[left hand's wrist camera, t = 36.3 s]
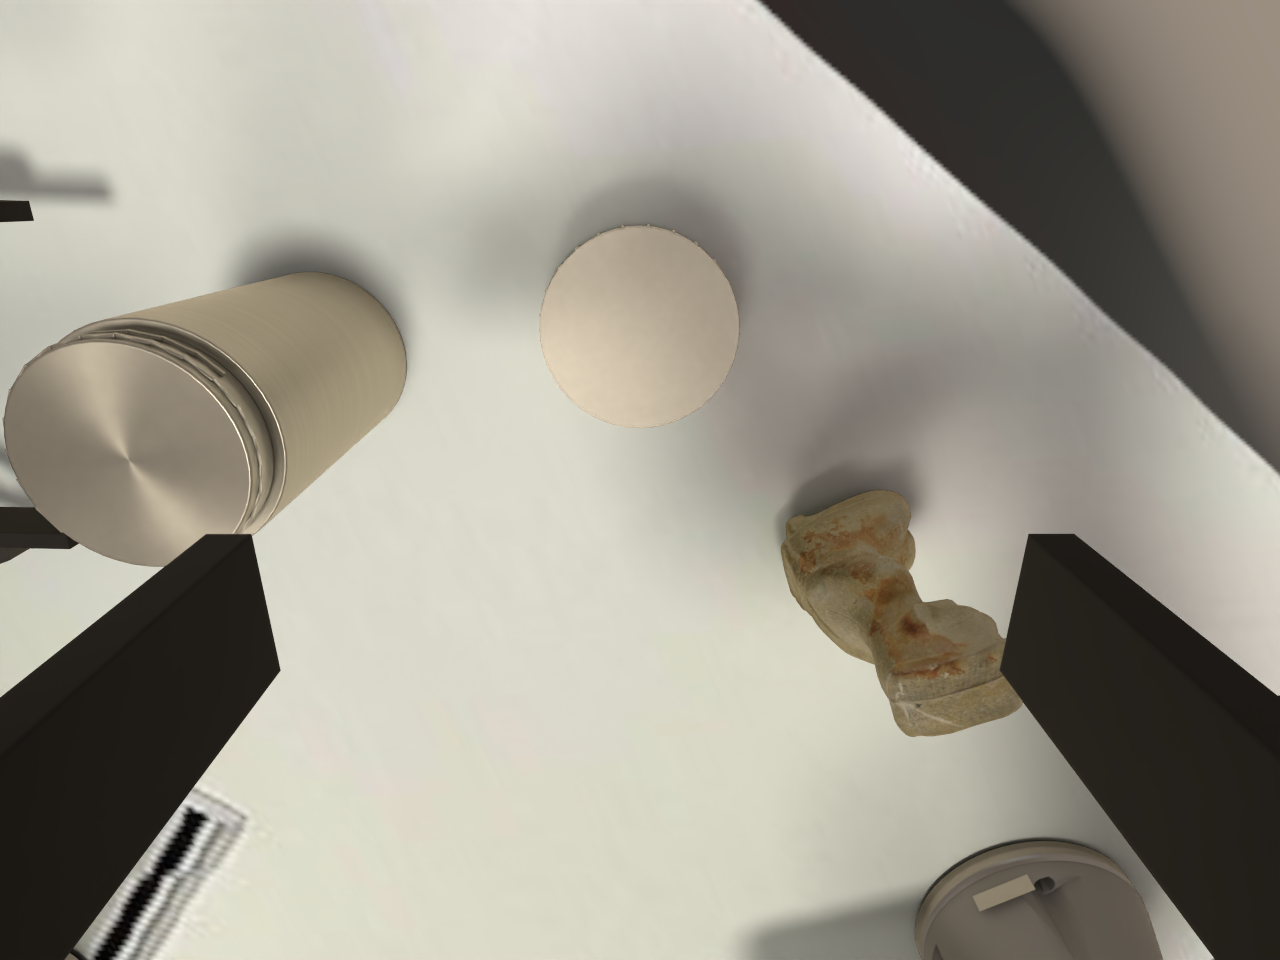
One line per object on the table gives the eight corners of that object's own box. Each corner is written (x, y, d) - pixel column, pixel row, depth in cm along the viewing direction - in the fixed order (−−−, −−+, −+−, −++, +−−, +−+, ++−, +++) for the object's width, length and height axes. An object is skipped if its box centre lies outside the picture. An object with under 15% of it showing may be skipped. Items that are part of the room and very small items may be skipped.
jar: (330, 236, 36) (120, 269, 21) (440, 380, 38) (319, 496, 24) (204, 332, 37) (-70, 423, 23) (318, 464, 40) (136, 619, 26)
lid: (515, 376, 38) (509, 384, 36) (584, 189, 35) (581, 189, 33) (687, 446, 40) (689, 457, 38) (769, 272, 36) (775, 277, 35)
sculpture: (909, 561, 42) (1043, 747, 28) (784, 588, 43) (854, 783, 29) (896, 467, 40) (1035, 618, 26) (765, 498, 40) (831, 660, 27)
